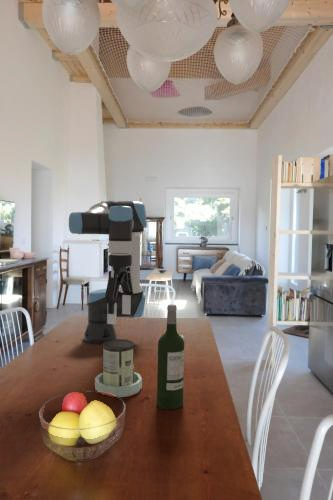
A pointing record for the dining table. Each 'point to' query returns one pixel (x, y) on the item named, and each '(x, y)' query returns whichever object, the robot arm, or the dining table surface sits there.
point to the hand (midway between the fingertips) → (119, 318)
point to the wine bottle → (170, 365)
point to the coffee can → (118, 363)
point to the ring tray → (121, 390)
